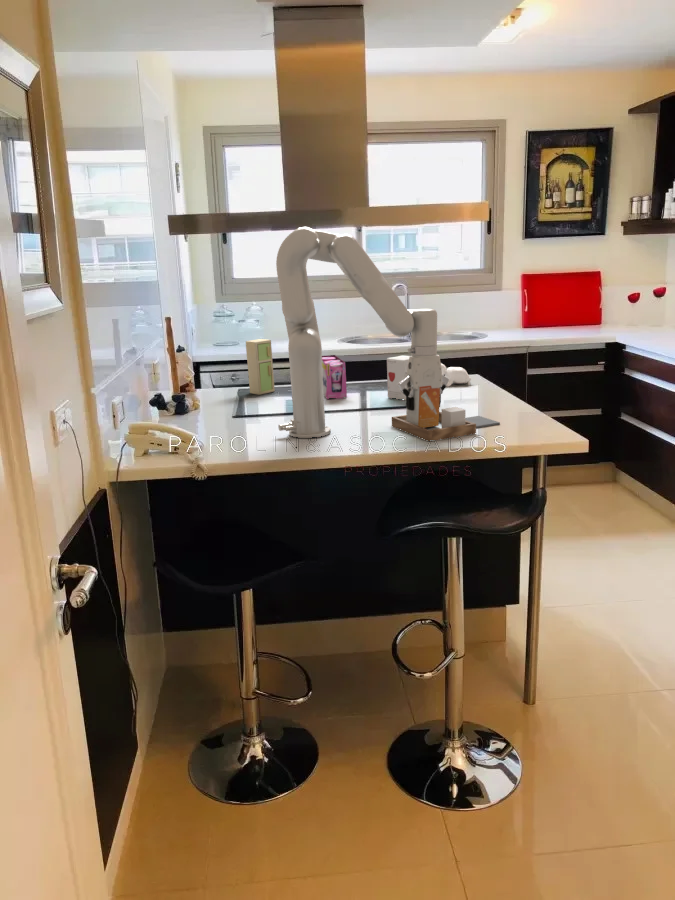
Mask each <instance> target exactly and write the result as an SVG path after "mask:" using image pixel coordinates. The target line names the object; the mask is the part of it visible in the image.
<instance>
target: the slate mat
mask: <svg viewBox="0 0 675 900" xmlns="http://www.w3.org/2000/svg"><path fill="white" fill-rule="evenodd" d="M465 420H466V421H469V422H472V423H475V424H476V429H480V428H485V427H492V426H497V425H498V426H499V425H500V424H501V422H500V421H497V420H494V419H490V418H487V417H484V416H481V415H476V416H475V415H474V416H469V417H465Z"/></svg>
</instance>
